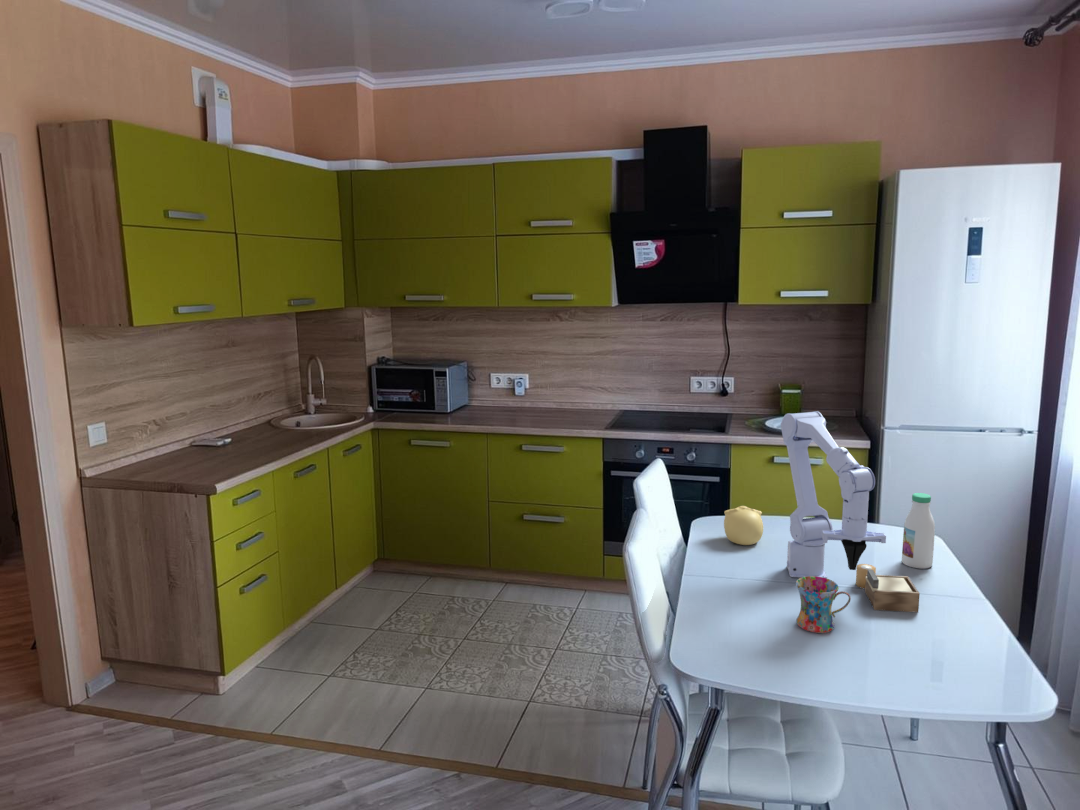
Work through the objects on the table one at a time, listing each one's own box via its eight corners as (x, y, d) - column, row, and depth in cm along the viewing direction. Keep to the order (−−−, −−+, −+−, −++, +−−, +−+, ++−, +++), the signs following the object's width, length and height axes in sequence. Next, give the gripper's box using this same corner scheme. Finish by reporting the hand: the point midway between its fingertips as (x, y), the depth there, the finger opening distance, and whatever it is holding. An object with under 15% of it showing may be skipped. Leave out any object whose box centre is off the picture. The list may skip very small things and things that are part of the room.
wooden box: (874, 609, 187) (875, 591, 186) (865, 592, 196) (866, 574, 195) (918, 612, 185) (919, 593, 184) (906, 594, 195) (908, 576, 194)
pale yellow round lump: (759, 534, 239) (760, 501, 237) (765, 549, 227) (766, 514, 225) (721, 534, 240) (722, 501, 238) (726, 548, 228) (727, 513, 226)
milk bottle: (931, 560, 215) (936, 492, 211) (932, 571, 208) (938, 500, 204) (901, 557, 218) (906, 489, 215) (901, 567, 211) (906, 497, 208)
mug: (795, 634, 176) (796, 590, 174) (793, 616, 185) (795, 574, 183) (851, 639, 173) (853, 595, 171) (846, 621, 182) (848, 578, 180)
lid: (872, 591, 187) (873, 581, 186) (865, 577, 195) (866, 567, 194) (912, 593, 185) (913, 583, 185) (903, 579, 193) (904, 569, 193)
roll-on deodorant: (857, 588, 199) (858, 570, 198) (854, 581, 203) (855, 563, 202) (876, 589, 198) (877, 570, 197) (872, 582, 202) (873, 564, 201)
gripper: (826, 520, 186) (824, 573, 188) (890, 523, 183) (886, 576, 186) (821, 511, 193) (819, 562, 195) (883, 513, 190) (879, 564, 193)
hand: (851, 568), depth 191 cm, fingers closed
